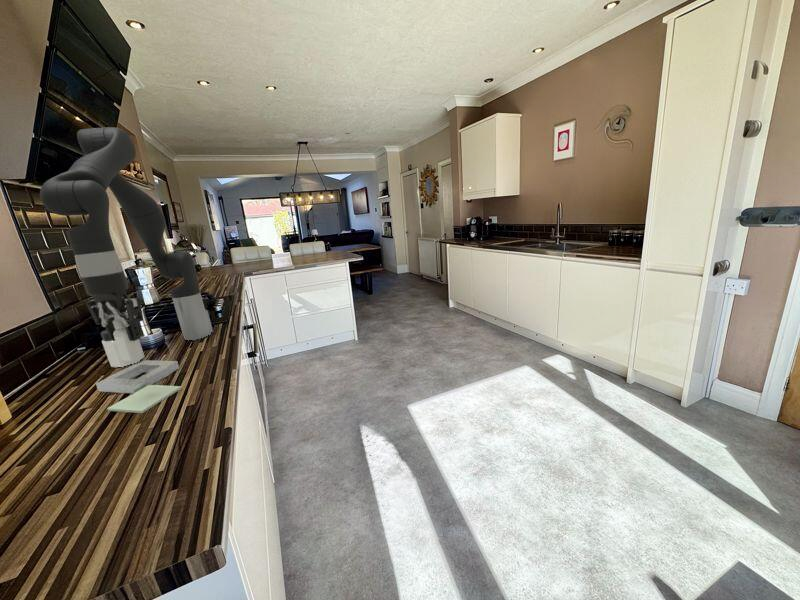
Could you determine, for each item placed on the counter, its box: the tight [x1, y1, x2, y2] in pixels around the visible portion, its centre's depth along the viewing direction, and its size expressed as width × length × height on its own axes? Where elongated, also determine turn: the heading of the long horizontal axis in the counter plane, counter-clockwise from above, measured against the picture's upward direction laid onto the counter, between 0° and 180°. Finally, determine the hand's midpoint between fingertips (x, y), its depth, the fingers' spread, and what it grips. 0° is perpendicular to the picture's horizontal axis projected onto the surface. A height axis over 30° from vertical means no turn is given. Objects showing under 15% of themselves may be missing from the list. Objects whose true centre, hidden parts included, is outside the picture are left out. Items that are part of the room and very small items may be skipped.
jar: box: [100, 329, 146, 368], centre depth 107 cm, size 9×8×12 cm
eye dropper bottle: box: [113, 316, 143, 363], centre depth 79 cm, size 4×6×12 cm
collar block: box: [95, 359, 180, 394], centre depth 94 cm, size 14×14×2 cm
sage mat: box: [106, 384, 182, 414], centre depth 83 cm, size 11×11×1 cm
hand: (125, 339), depth 79 cm, fingers closed on eye dropper bottle, 5 cm apart
